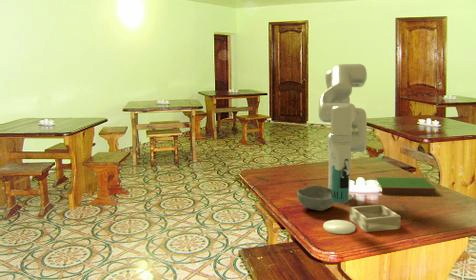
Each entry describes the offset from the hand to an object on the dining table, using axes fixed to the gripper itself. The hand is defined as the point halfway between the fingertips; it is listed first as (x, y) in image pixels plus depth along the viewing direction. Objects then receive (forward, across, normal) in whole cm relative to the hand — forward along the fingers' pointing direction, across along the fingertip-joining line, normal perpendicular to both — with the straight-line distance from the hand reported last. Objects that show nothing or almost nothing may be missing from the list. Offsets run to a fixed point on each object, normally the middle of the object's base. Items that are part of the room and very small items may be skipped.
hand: (340, 185), depth 160 cm
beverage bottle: (+8, 0, 0) cm, 8 cm away
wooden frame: (+17, -1, +15) cm, 23 cm away
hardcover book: (+18, -40, +52) cm, 68 cm away
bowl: (+17, -23, 0) cm, 29 cm away
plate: (+17, 0, 0) cm, 17 cm away
